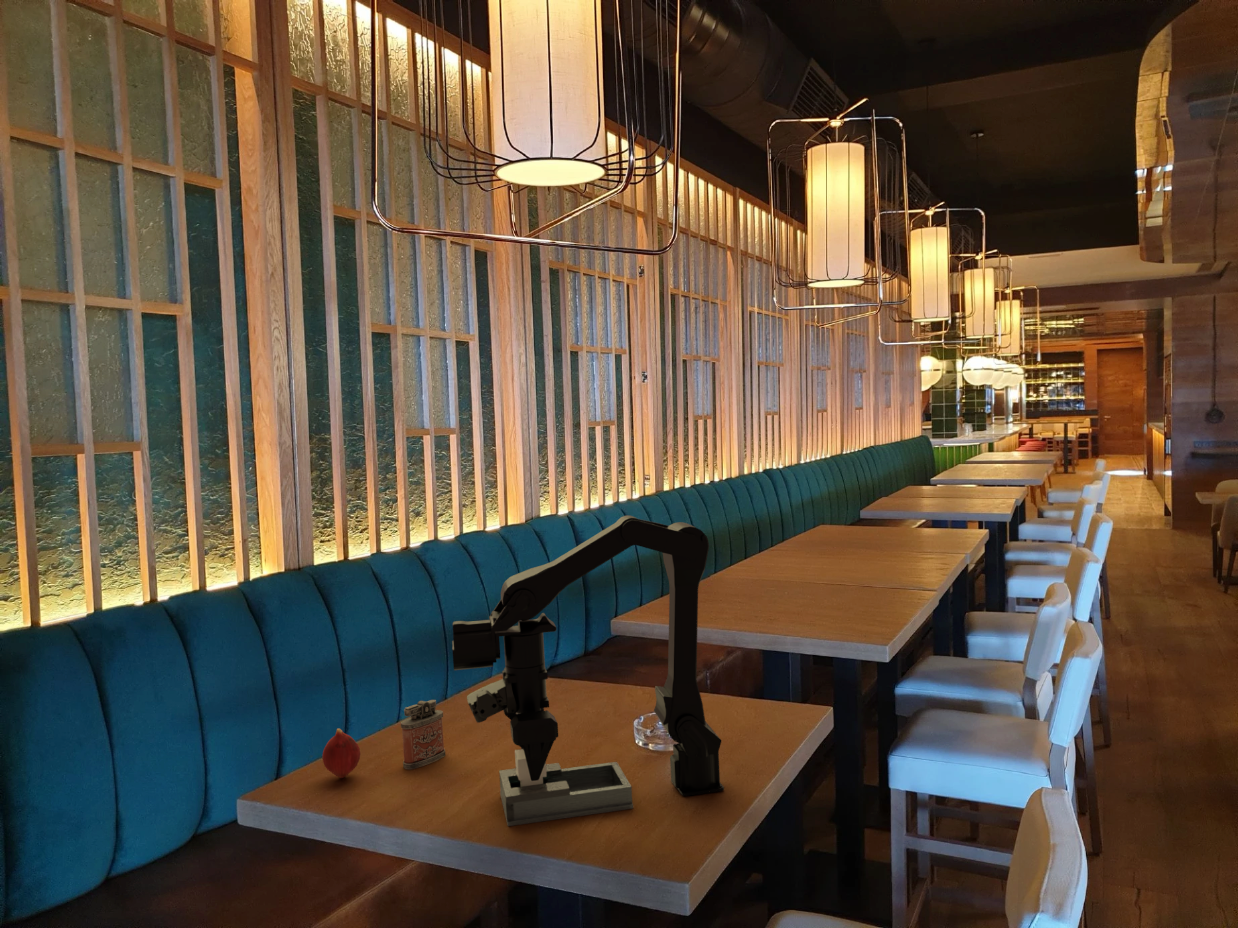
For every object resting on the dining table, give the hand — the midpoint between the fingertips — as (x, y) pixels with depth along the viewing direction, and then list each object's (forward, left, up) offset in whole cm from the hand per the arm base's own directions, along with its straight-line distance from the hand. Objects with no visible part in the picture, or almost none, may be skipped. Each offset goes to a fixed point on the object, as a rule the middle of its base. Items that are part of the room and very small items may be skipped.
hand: (530, 768), depth 135 cm
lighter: (+15, -24, -6) cm, 29 cm away
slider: (0, 0, -5) cm, 5 cm away
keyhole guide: (-5, 0, -6) cm, 7 cm away
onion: (+28, -21, -6) cm, 36 cm away
